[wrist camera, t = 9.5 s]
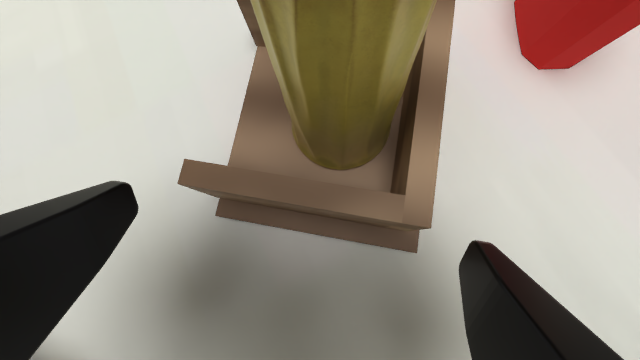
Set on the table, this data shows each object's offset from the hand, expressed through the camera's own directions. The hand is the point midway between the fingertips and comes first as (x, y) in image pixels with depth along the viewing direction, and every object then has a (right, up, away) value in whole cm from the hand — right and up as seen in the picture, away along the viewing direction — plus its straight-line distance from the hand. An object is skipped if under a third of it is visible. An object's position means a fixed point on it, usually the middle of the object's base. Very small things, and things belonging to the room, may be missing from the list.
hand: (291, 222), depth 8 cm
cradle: (+1, +5, +11) cm, 12 cm away
